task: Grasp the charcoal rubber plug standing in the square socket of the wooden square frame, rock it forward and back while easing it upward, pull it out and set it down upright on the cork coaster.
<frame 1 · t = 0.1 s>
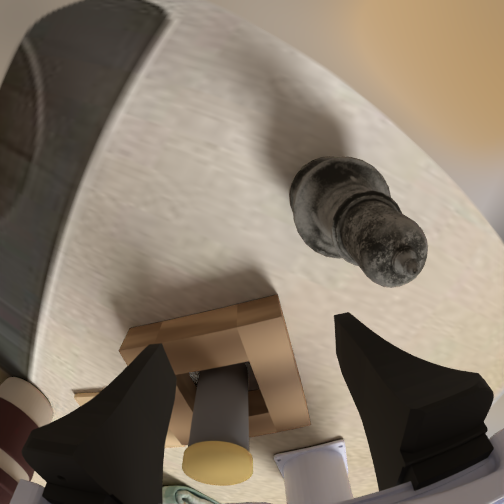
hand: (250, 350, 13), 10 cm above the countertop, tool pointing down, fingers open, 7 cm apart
plug: (220, 415, 21), in the wooden square frame
coaster: (130, 420, 28), on the countertop
wooden square frame: (223, 371, 26), on the countertop
salt shaker: (328, 195, 21), on the countertop
coffee cup: (30, 396, 28), on the countertop
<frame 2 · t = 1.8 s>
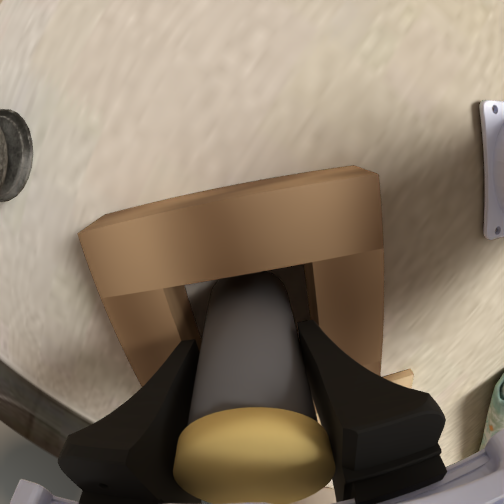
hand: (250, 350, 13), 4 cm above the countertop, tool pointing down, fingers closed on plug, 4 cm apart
plug: (250, 367, 12), in the wooden square frame, touching gripper
coaster: (347, 425, 20), on the countertop
wooden square frame: (249, 303, 16), on the countertop
salt shaker: (2, 155, 13), on the countertop
coffee cup: (304, 498, 25), on the countertop
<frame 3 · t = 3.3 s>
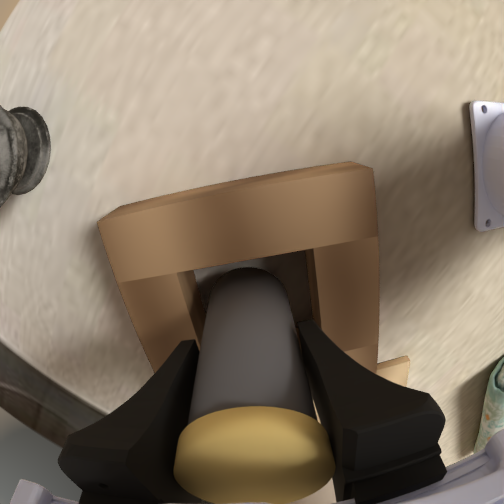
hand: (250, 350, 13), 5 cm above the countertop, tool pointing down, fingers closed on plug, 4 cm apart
plug: (250, 367, 12), point 6 cm above the countertop, touching gripper
coaster: (347, 411, 22), on the countertop
wooden square frame: (254, 289, 18), on the countertop
salt shaker: (19, 150, 14), on the countertop
coffee cup: (306, 487, 27), on the countertop
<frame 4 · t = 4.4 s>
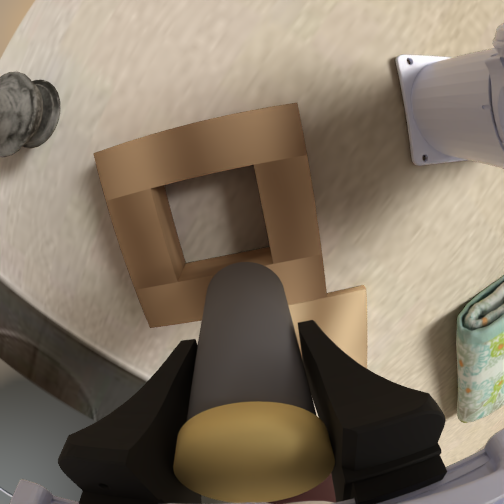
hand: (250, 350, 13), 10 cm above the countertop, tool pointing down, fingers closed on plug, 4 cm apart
plug: (248, 362, 12), point 11 cm above the countertop, touching gripper
coaster: (312, 344, 25), on the countertop
wooden square frame: (216, 213, 21), on the countertop
salt shaker: (34, 113, 18), on the countertop
coffee cup: (285, 438, 30), on the countertop
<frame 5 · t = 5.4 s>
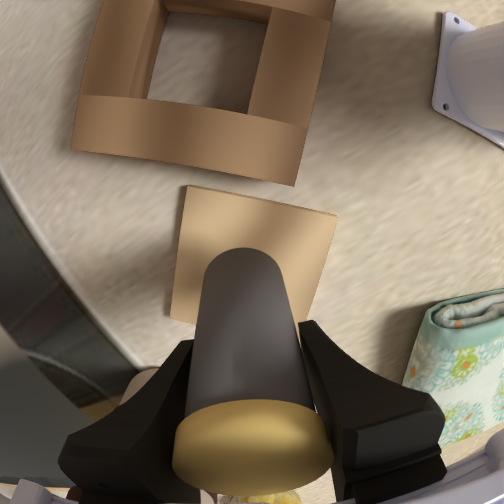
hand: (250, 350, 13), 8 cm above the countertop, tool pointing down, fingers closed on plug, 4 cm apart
bread roll: (264, 495, 33), on the countertop
plug: (246, 352, 12), point 9 cm above the countertop, tilted 5°, touching gripper
coaster: (248, 268, 20), on the countertop
wooden square frame: (206, 60, 16), on the countertop
towel: (476, 360, 26), on the countertop
coffee cup: (171, 394, 25), on the countertop
when the fingers open (5 cm above the countertop, at t = 6.3 s): plug stays where it is, resting on coaster.
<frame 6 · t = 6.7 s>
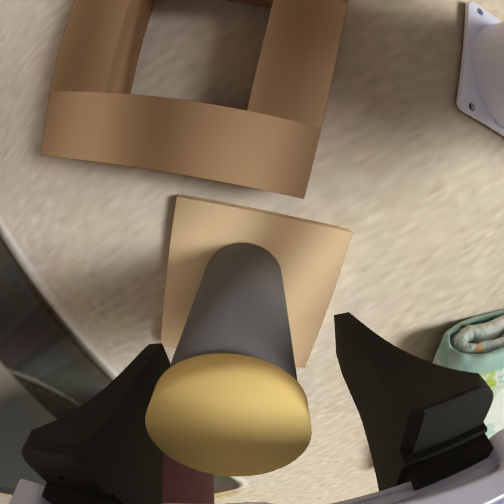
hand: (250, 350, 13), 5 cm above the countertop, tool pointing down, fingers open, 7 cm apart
plug: (237, 334, 12), on the coaster, point 6 cm above the countertop
coaster: (248, 289, 18), on the countertop
wooden square frame: (198, 48, 13), on the countertop
towel: (489, 377, 23), on the countertop
coffee cup: (164, 420, 22), on the countertop
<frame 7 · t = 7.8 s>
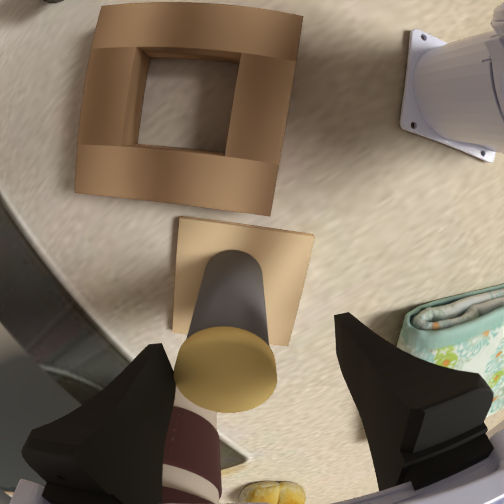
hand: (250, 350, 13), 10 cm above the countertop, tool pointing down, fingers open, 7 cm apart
bread roll: (271, 490, 35), on the countertop
plug: (229, 317, 18), point 6 cm above the countertop, touching gripper
coaster: (238, 285, 23), on the countertop
wooden square frame: (187, 102, 19), on the countertop
towel: (463, 355, 28), on the countertop
coffee cup: (178, 398, 28), on the countertop
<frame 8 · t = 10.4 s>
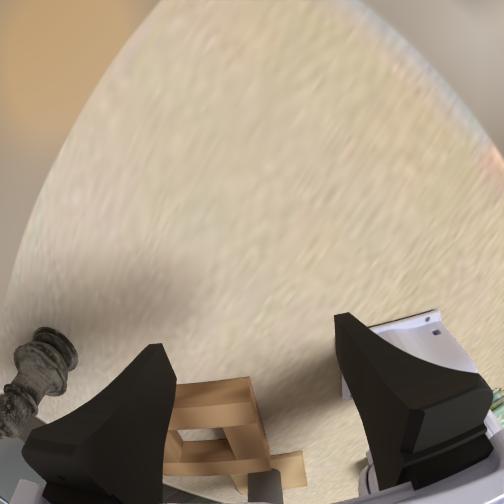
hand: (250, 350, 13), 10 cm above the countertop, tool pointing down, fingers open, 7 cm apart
coaster: (268, 473, 33), on the countertop
wooden square frame: (201, 424, 29), on the countertop
salt shaker: (55, 348, 26), on the countertop
towel: (441, 444, 35), on the countertop
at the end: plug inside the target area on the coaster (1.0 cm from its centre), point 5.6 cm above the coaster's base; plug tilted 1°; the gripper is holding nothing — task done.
